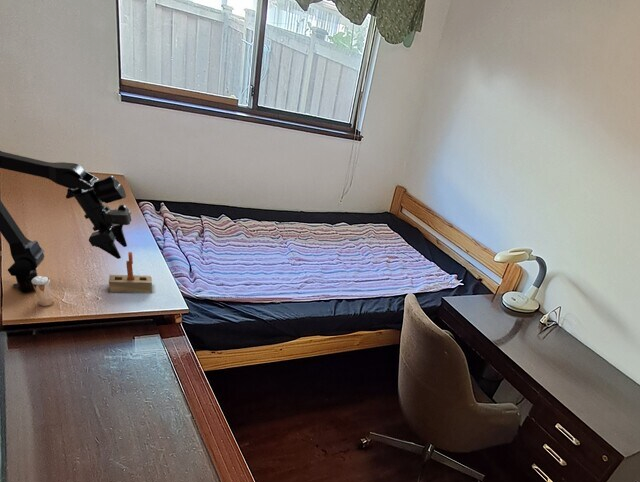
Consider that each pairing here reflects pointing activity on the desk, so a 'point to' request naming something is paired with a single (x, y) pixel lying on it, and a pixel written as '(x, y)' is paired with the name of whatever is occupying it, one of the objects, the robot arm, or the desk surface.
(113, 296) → the desk surface
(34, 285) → the milkshake
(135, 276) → the utensil rack
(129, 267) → the orange piece
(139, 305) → the desk surface
